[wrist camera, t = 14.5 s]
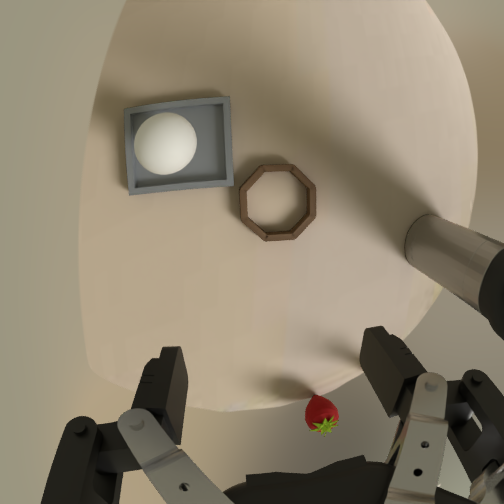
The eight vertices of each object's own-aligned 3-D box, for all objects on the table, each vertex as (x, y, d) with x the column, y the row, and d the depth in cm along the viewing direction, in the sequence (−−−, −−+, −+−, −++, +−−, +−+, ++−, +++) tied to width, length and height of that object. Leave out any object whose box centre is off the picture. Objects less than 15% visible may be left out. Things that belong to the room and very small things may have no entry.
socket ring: (312, 164, 36) (315, 164, 35) (312, 235, 39) (315, 238, 38) (238, 166, 35) (238, 166, 34) (241, 239, 38) (242, 243, 37)
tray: (229, 99, 33) (229, 96, 31) (233, 184, 36) (233, 185, 34) (128, 111, 32) (123, 108, 30) (133, 193, 35) (129, 195, 33)
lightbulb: (175, 113, 32) (156, 94, 21) (212, 143, 33) (208, 136, 23) (143, 151, 33) (112, 149, 22) (179, 181, 34) (162, 190, 24)
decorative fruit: (305, 412, 51) (317, 450, 41) (293, 391, 48) (306, 432, 39) (333, 400, 50) (349, 437, 41) (323, 378, 48) (341, 417, 38)
